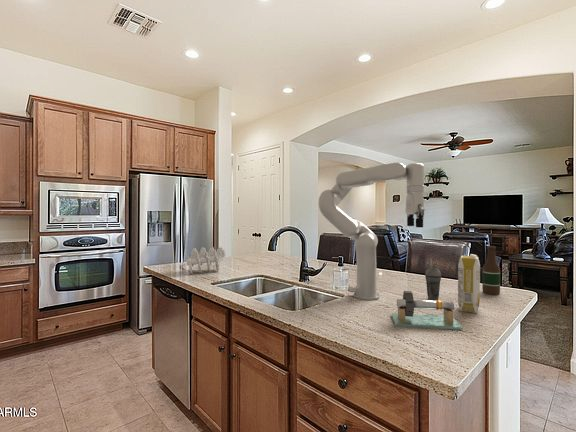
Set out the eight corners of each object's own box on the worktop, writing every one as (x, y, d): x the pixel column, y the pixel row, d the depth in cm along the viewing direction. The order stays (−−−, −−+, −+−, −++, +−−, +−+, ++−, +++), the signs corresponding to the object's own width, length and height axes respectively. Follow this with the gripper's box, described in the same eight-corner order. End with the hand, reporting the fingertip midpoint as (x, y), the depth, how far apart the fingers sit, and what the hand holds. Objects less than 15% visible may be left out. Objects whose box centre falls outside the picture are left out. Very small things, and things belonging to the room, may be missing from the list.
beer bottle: (483, 294, 162) (484, 246, 161) (481, 290, 169) (481, 245, 169) (501, 295, 159) (502, 247, 158) (498, 291, 166) (498, 245, 166)
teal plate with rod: (395, 326, 119) (395, 302, 119) (391, 315, 131) (391, 294, 131) (462, 330, 115) (462, 306, 115) (452, 318, 127) (452, 296, 127)
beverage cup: (443, 302, 149) (443, 259, 149) (426, 301, 151) (426, 258, 150) (439, 297, 156) (439, 256, 156) (423, 297, 158) (423, 256, 157)
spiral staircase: (186, 278, 222) (222, 273, 233) (190, 271, 207) (227, 266, 219) (183, 253, 228) (217, 249, 240) (186, 245, 213) (223, 241, 225)
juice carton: (479, 314, 132) (479, 256, 131) (457, 311, 136) (457, 254, 135) (479, 308, 139) (480, 253, 139) (459, 305, 144) (459, 252, 143)
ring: (406, 318, 120) (406, 294, 120) (402, 311, 129) (402, 288, 129) (413, 319, 119) (413, 295, 119) (409, 311, 128) (409, 289, 128)
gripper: (400, 191, 158) (400, 225, 159) (414, 189, 141) (414, 227, 142) (415, 191, 159) (415, 225, 159) (431, 189, 141) (431, 227, 142)
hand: (414, 226), depth 150 cm, fingers open, 9 cm apart
